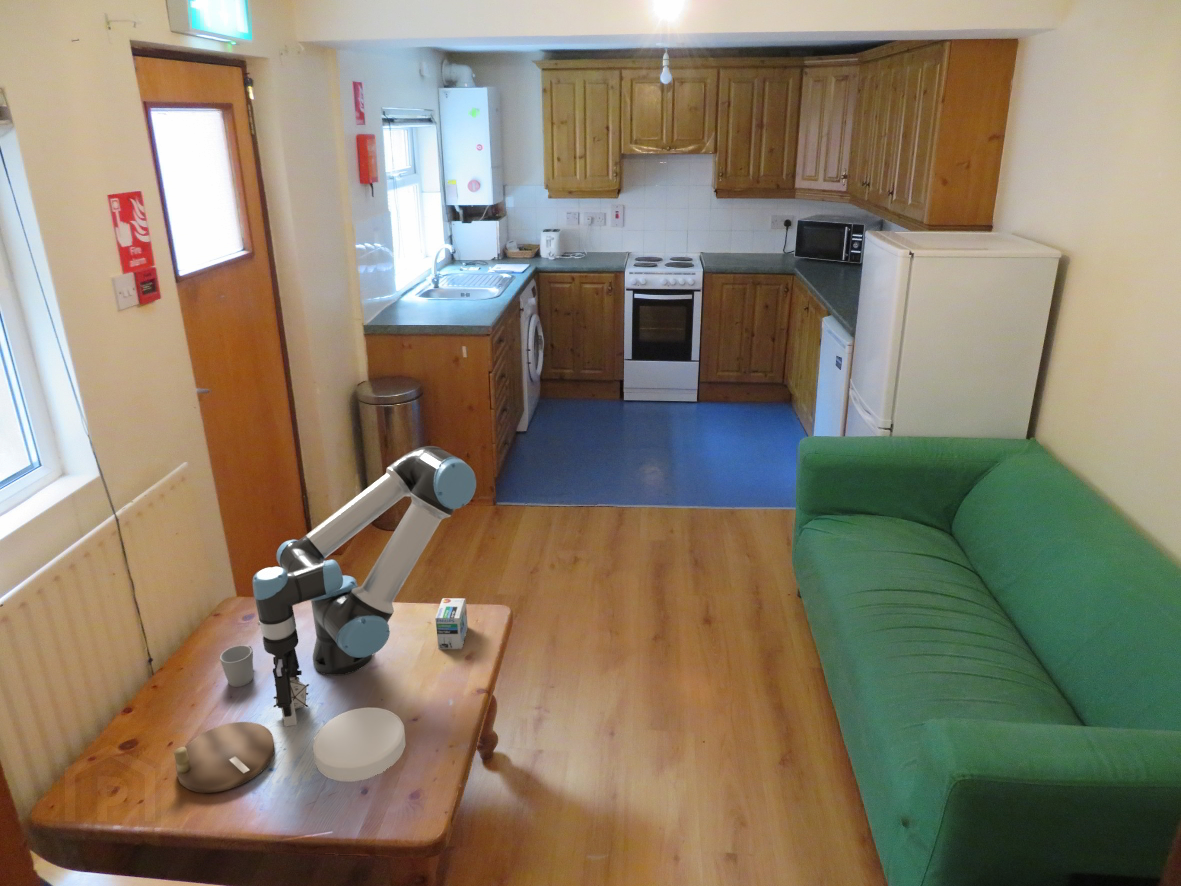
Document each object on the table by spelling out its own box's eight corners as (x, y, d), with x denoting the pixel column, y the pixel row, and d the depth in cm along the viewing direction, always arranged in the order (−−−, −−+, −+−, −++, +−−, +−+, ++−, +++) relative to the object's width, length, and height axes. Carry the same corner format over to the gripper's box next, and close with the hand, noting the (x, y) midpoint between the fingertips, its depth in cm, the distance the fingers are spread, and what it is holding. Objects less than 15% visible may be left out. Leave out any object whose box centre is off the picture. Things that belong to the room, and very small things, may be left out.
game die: (321, 705, 200) (315, 671, 196) (298, 727, 192) (292, 692, 189) (290, 698, 202) (284, 664, 199) (267, 720, 195) (260, 685, 191)
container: (310, 735, 190) (308, 718, 189) (397, 712, 198) (395, 696, 196) (319, 794, 173) (317, 776, 171) (414, 766, 180) (412, 749, 179)
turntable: (247, 717, 195) (242, 693, 193) (291, 755, 183) (287, 729, 180) (161, 763, 181) (155, 737, 179) (203, 807, 169) (197, 780, 166)
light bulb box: (462, 653, 220) (459, 618, 216) (437, 653, 220) (434, 618, 216) (468, 630, 230) (466, 597, 226) (444, 630, 230) (442, 597, 226)
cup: (219, 690, 206) (213, 661, 203) (240, 666, 216) (235, 638, 213) (247, 692, 205) (241, 663, 202) (267, 668, 215) (262, 640, 212)
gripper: (270, 609, 198) (284, 687, 206) (253, 660, 179) (269, 744, 187) (302, 605, 200) (315, 683, 207) (289, 656, 180) (304, 739, 188)
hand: (293, 712), depth 197 cm, fingers closed on game die, 8 cm apart
